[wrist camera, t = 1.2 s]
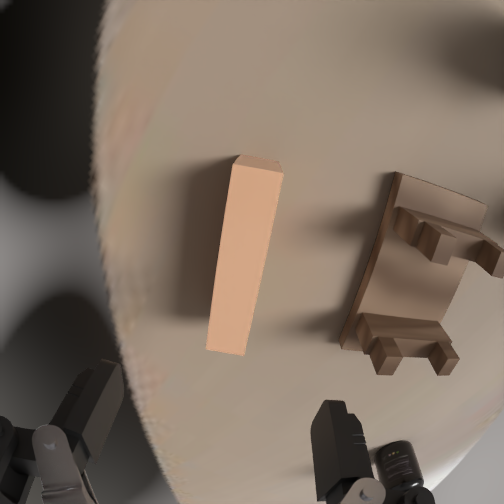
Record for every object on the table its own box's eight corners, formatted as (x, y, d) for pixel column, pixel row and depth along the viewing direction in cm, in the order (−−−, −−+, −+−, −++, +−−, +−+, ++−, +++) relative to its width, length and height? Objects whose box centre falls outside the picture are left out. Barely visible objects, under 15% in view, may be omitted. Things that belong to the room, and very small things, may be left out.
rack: (395, 171, 23) (441, 192, 16) (479, 201, 23) (529, 228, 16) (338, 339, 29) (354, 394, 23) (418, 346, 30) (443, 393, 23)
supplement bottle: (413, 449, 40) (429, 504, 29) (376, 463, 41) (388, 519, 30) (410, 434, 37) (429, 494, 26) (370, 450, 39) (383, 512, 28)
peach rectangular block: (240, 154, 23) (232, 164, 18) (278, 161, 23) (283, 173, 18) (216, 307, 29) (205, 349, 23) (247, 312, 29) (243, 355, 23)
